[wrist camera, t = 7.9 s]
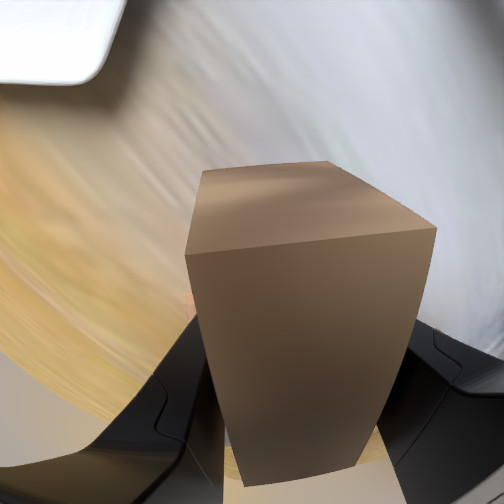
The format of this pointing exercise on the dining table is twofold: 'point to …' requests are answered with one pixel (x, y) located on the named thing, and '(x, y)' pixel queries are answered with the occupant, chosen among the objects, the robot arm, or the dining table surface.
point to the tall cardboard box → (303, 310)
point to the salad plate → (56, 40)
